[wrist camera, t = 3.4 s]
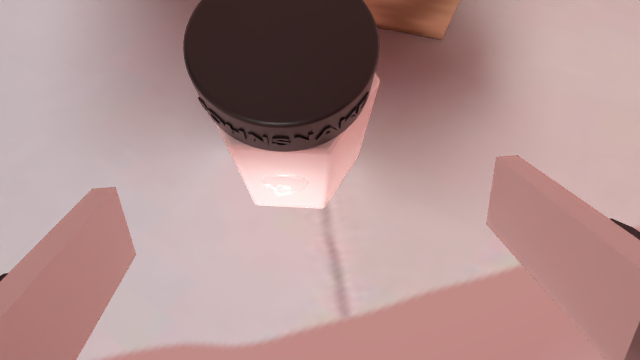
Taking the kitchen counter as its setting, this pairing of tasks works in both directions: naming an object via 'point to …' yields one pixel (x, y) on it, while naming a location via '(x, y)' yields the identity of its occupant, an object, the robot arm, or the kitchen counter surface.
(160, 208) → the kitchen counter surface
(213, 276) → the kitchen counter surface
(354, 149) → the jar
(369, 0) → the open wooden box
